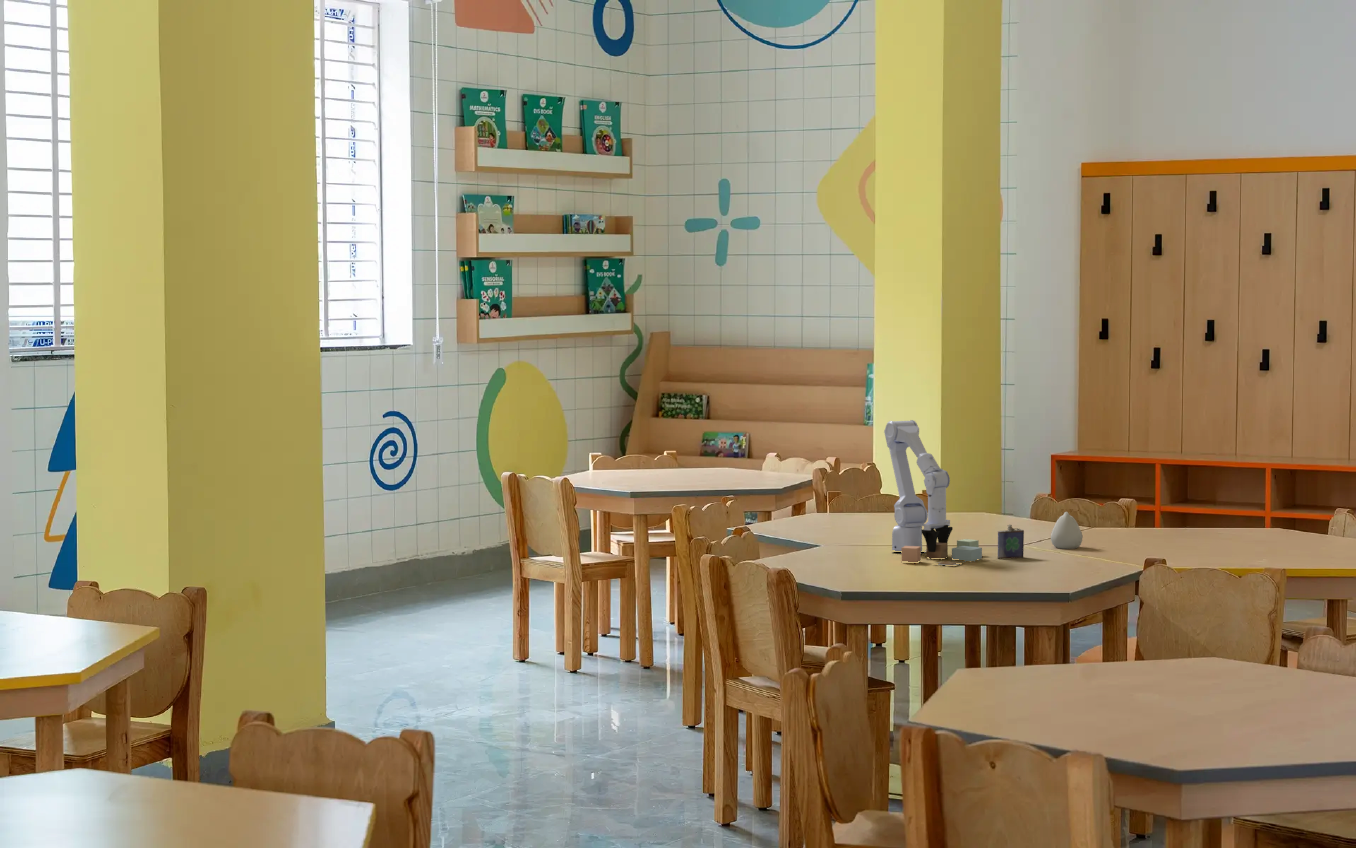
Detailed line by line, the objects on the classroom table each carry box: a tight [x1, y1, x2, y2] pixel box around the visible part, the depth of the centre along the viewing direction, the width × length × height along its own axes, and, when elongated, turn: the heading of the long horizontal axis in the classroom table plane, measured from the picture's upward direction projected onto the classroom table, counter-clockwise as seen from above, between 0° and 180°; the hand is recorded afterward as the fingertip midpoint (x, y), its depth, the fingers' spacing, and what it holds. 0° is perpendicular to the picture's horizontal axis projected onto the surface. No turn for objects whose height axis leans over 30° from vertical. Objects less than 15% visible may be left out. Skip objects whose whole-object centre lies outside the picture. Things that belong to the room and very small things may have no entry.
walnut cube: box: [925, 541, 949, 558], centre depth 467 cm, size 5×5×5 cm
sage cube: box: [956, 538, 980, 547], centre depth 473 cm, size 5×5×5 cm
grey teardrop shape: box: [1050, 511, 1084, 550], centre depth 488 cm, size 10×10×12 cm
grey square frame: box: [938, 560, 960, 566], centre depth 453 cm, size 7×7×1 cm
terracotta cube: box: [901, 546, 922, 562], centre depth 459 cm, size 5×5×5 cm
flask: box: [997, 524, 1025, 560], centre depth 466 cm, size 9×3×11 cm, turn 109°
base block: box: [951, 546, 983, 562], centre depth 464 cm, size 7×7×4 cm
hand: (937, 550), depth 466 cm, fingers open, 7 cm apart
